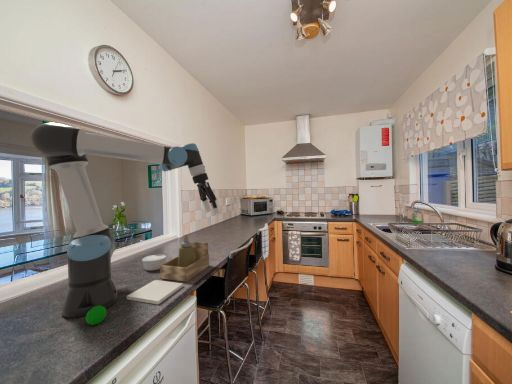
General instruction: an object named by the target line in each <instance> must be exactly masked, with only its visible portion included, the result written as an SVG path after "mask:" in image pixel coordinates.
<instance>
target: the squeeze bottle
mask: <svg viewBox="0 0 512 384" xmlns="http://www.w3.org/2000/svg"><path fill="white" fill-rule="evenodd" d="M191 242H192V241H189V237H188V234H184V236H183V241H182V242H180V247H179V248H178V256H177V257H178V267H185V268H186V267H188V266H190V265H191V264H193V263H195V259H194V251H193V247H192V246H191Z"/></svg>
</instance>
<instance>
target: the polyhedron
mask: <svg viewBox="0 0 512 384" xmlns="http://www.w3.org/2000/svg"><path fill="white" fill-rule="evenodd" d="M107 313H108V311H107V308H105V307H103V306H95V307H93V308H92V309H90V310H89V311H88V312H87V314H86V316H85V321H86V323H87V324H88V325H90V326H95V325H98V324H101V322H102V321H104V320H105V318H106V316H107Z"/></svg>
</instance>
